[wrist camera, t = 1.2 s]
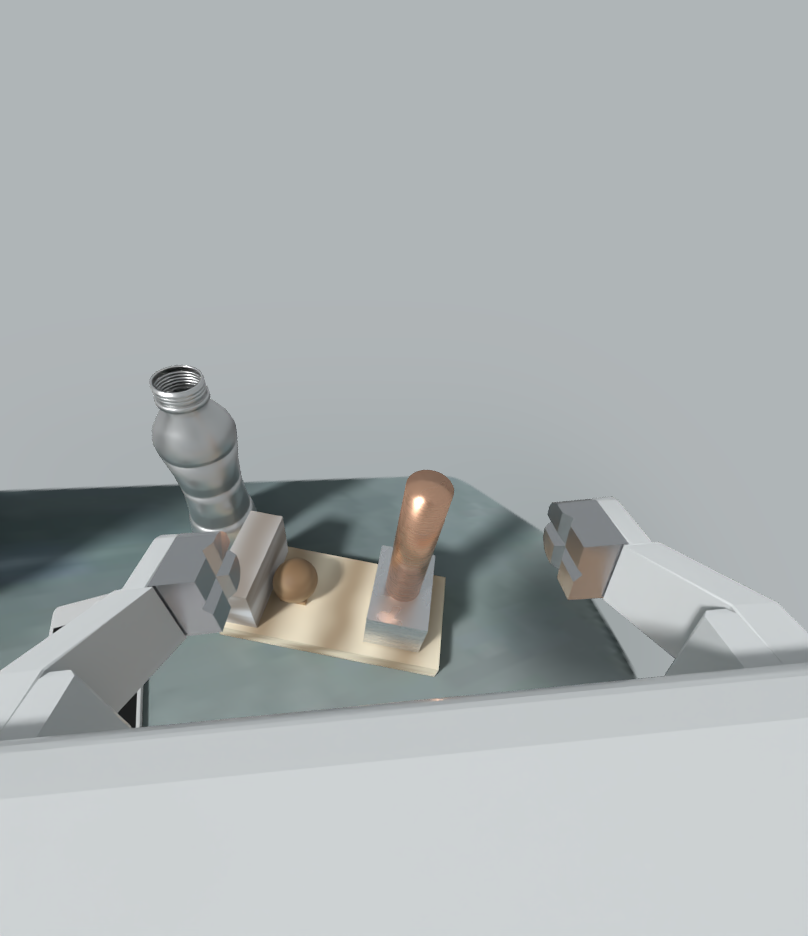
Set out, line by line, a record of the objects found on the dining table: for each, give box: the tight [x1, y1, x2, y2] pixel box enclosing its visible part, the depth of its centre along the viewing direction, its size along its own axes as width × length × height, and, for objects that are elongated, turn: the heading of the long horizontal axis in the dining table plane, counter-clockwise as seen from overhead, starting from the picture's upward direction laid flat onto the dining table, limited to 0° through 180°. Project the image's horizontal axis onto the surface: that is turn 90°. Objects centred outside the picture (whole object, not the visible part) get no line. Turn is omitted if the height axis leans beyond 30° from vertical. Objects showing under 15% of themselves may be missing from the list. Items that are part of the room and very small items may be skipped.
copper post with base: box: [363, 470, 454, 652], centre depth 30 cm, size 5×7×18 cm
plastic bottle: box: [150, 365, 257, 550], centre depth 36 cm, size 6×7×20 cm
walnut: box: [273, 558, 318, 605], centre depth 36 cm, size 4×4×4 cm
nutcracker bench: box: [220, 511, 446, 677], centre depth 36 cm, size 20×9×8 cm, turn 82°
